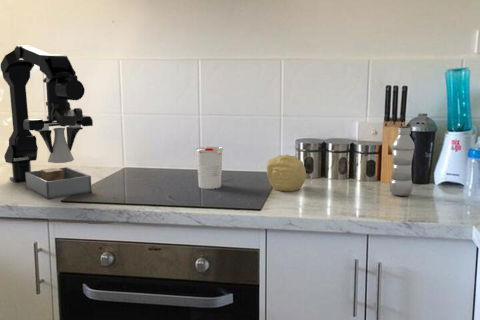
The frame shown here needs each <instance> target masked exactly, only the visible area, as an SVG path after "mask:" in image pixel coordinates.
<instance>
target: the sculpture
mask: <svg viewBox="0 0 480 320" xmlns="http://www.w3.org/2000/svg"><path fill="white" fill-rule="evenodd" d="M266 177H267V178H268V181H269V183H270V186H272V188H273V189H274V190H276V191H278V192H279V191H280V192H295V191H298V190H300V189H301V188H302V187H303V185H304V184H305V181H306V177H307V172H306V168H305V165H304V162H303V161H302V160H300V159H299V158H298V157H297V156H296V155H289V154H283V155H282V154H279V155H277V156H275V157H273V158H270V159H268V160H267V163H266Z"/></svg>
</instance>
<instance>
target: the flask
mask: <svg viewBox="0 0 480 320" xmlns="http://www.w3.org/2000/svg"><path fill="white" fill-rule="evenodd" d="M65 130H66V127H53V130H52V131H54V137H53V138H54V140H53V142H52V148H53V150H52V153H50V152H49V157H48V159H47V162H48V163H52V164H66V163H71V162H74V160H75V159H74V155H73V154H72V152H71V151H70V150H69V147H68V145H67V138H66V136H65Z"/></svg>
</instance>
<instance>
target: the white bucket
mask: <svg viewBox="0 0 480 320" xmlns="http://www.w3.org/2000/svg"><path fill="white" fill-rule="evenodd" d="M223 150H224V148H222V147H219V146H199V147H197V148H195V151H196V166H197V167H196V168H197V179H198V188H200V189H203V190H216V189H220V188H221V187H222V174H223V173H222V172H223V171H222V170H223V167H222V166H223ZM215 188H216V189H215Z"/></svg>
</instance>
